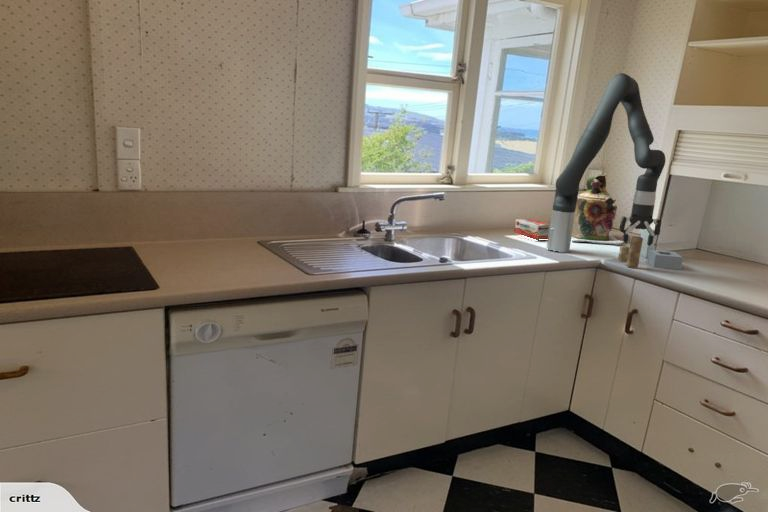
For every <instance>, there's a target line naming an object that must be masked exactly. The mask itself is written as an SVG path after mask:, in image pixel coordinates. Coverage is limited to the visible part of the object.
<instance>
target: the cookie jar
mask: <svg viewBox="0 0 768 512" xmlns="http://www.w3.org/2000/svg"><path fill="white" fill-rule="evenodd" d="M606 176H607V173H604V174H599V175H593V176H591V177H589V178H588V179H587V180H586V189H587V190H585V191H584V192H581V193H578V198H577V204H576V209H575V216H574V223H573V230H572V236H571V241H573V242H579V243H580V242H583V243H584V242H588V243H593V244H605V245H617V246H620V245H621V246H622V244H623V243H624V242H623V240H619V239H617V238H616V237H615V236H614V235H613V234H611V233H610V232H611V231H612V229H613V224H614V223H613V222H614V220H615V219H616V215H617V209H618V206H617V205H614V204H615V203H616V200H617V199H616V198H615V197H612V196H611V195H610V193H609V192H608V191H607V188H606V187H607V181H606V180H607V178H606ZM572 238H573V239H572ZM574 238H575V239H574Z"/></svg>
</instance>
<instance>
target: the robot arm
mask: <svg viewBox="0 0 768 512" xmlns="http://www.w3.org/2000/svg"><path fill="white" fill-rule="evenodd" d="M639 87H640V86H639V83H638V82H637V80H636V79H635V78H634V77H631V76H630V75H628V74H626V73H623V72H621V73H617V74H615V75H614V76H613V77H612V78H611V79H610V80H609V82H608V83H607V86H606V88H605V91H604V92H603V94H602V97H601V99H600V101H599V104H598V106H597V107H596V110H595V111H594V113H593V115H592V117H591V118H590V120H589V122H588V123H587V125H586V128H585V129H584V130H583V132H582V135H581V136H580V138H579V140H578V142H577V144H576V146H575V148H574V151H573V153H572V156H571V158H570V160H569V161H568V163H567V165H566V166H565V168H564V170H563V171H562V172H561V173H560V175H558V177H557V178H556V180H555V192H554V199H553V202H552V203H553V204H552V210H551V219H550V227H549V233H548V240H547V242H546V249H547V248H548V249H549V250H548V251H550V250H555V251H560V252H559V253H569V252H570V248H571V243H572V242H571V236H572V230H573V223H574V216H575V209H576V204H577V198H578V194H579V191H580V183H581V180H582V178H583V177H584V174H585V172H586V171H587V169H588V167H589V166H590V164H591V163H592V162H593V161H594V159H595V157H596V156H597V155H598V153H599V152H600V151H601V149H602V147H603V146H604V144H605V143H606V140H607V139H608V138H609V135H610V132H611V128H612V122H613V118H614V115H615V111H616V109H617V107H618V106H619V105H620V103H621V105H622V106H623V108H624V110H625V113H626V117H627V128H628V132H629V134H630V137H631V140H632V142H633V145H634V146H633V148H634V149H633V150H634V152H633V153H634V160H635V162H636V165H637V167H640V168H641V169H646V170H645V172H644V173H643V174H640V175H638V177H637V180H636V185H635V192H634V195H633V199H632V208H631V214H630V216H628V217H627V216H624V215H623V216H622V217H621V219H620V223H619V224H620V225H619V229H618V230H619V232H621V233H623V236H622V241H623V243H624V244H628V241H629V233H630V232H632V231H633V230H634V229H635V230H640V229H641V230H642V229H644V230H645V229H646V230H647V231H648V232H649V234H650V235H649V236H648V242H647V245H649V246H650V245H651V244H652V243H653V238H654V236H655V235H657V236H659V235H660V234H661V225H662V220H661V219H660V218H653V217H654V212H655V211H654V210H655V206H656V205H655V203H656V199H657V197H656V194H657V187H658V181H659V179H660V177H661V176H662V175H661V174H662V173H663V170H664V167H665V165H666V155H665V152H663V151H662V150H660V149H651V148H650V146H651V145H652V144H653V143H654V142H655V141H654V139H655V138H654V135H653V132H652V130H651V129H652V128H650V124H649V122H648V119H647V116H646V114H645V111H644V107H643V103H642V99H641V98H642V97H641V91H640V88H639ZM628 222H630V224H629V225H628V226H627V227H625V226H626V224H627V223H628ZM652 224H654V229H655V231H654V232H653V231H652V229H651V228H652V227H651V225H652ZM555 251H554V252H555Z"/></svg>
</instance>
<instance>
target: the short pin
mask: <svg viewBox="0 0 768 512" xmlns="http://www.w3.org/2000/svg"><path fill="white" fill-rule="evenodd" d="M629 247H630V245H622V244H621V245H619V251H618V258H617V260H618V261H619V262H622V263H627V259H628V253H629Z"/></svg>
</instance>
